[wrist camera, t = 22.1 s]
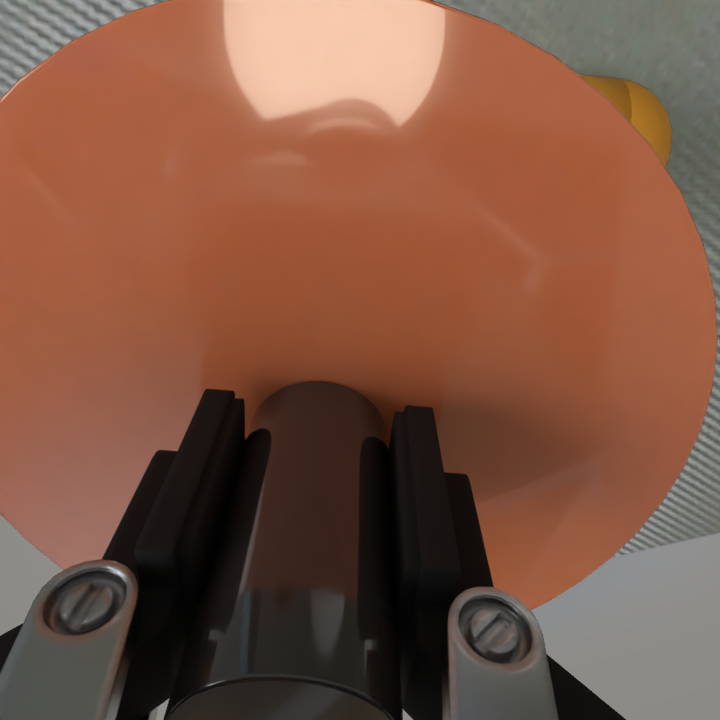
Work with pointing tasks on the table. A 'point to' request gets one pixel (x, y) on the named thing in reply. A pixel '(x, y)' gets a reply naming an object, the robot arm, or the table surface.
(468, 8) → the table surface
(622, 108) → the orange ribbed oval piece
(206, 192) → the lid
